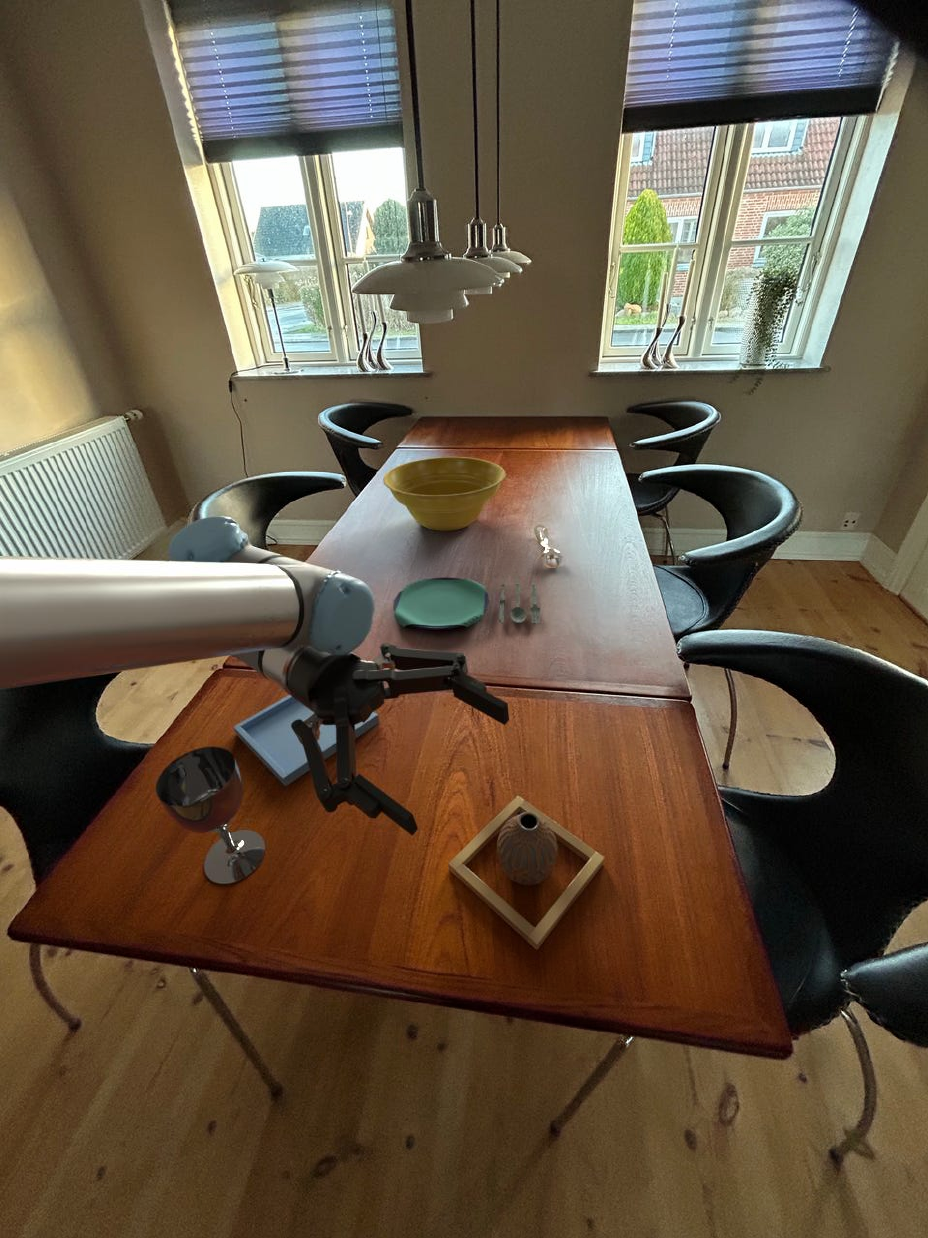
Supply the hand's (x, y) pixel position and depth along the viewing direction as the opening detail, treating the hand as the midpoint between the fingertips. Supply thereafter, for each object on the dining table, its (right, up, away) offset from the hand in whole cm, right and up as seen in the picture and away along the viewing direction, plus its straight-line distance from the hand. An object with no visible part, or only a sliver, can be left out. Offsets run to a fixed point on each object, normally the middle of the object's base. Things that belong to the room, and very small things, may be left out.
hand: (463, 765), depth 48 cm
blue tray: (-24, -4, +35) cm, 42 cm away
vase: (+7, -16, +15) cm, 23 cm away
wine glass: (-28, -16, +17) cm, 37 cm away
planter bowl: (-5, +40, +99) cm, 107 cm away
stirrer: (+20, +31, +83) cm, 91 cm away
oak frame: (+7, -16, +15) cm, 23 cm away
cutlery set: (+1, +15, +62) cm, 64 cm away
